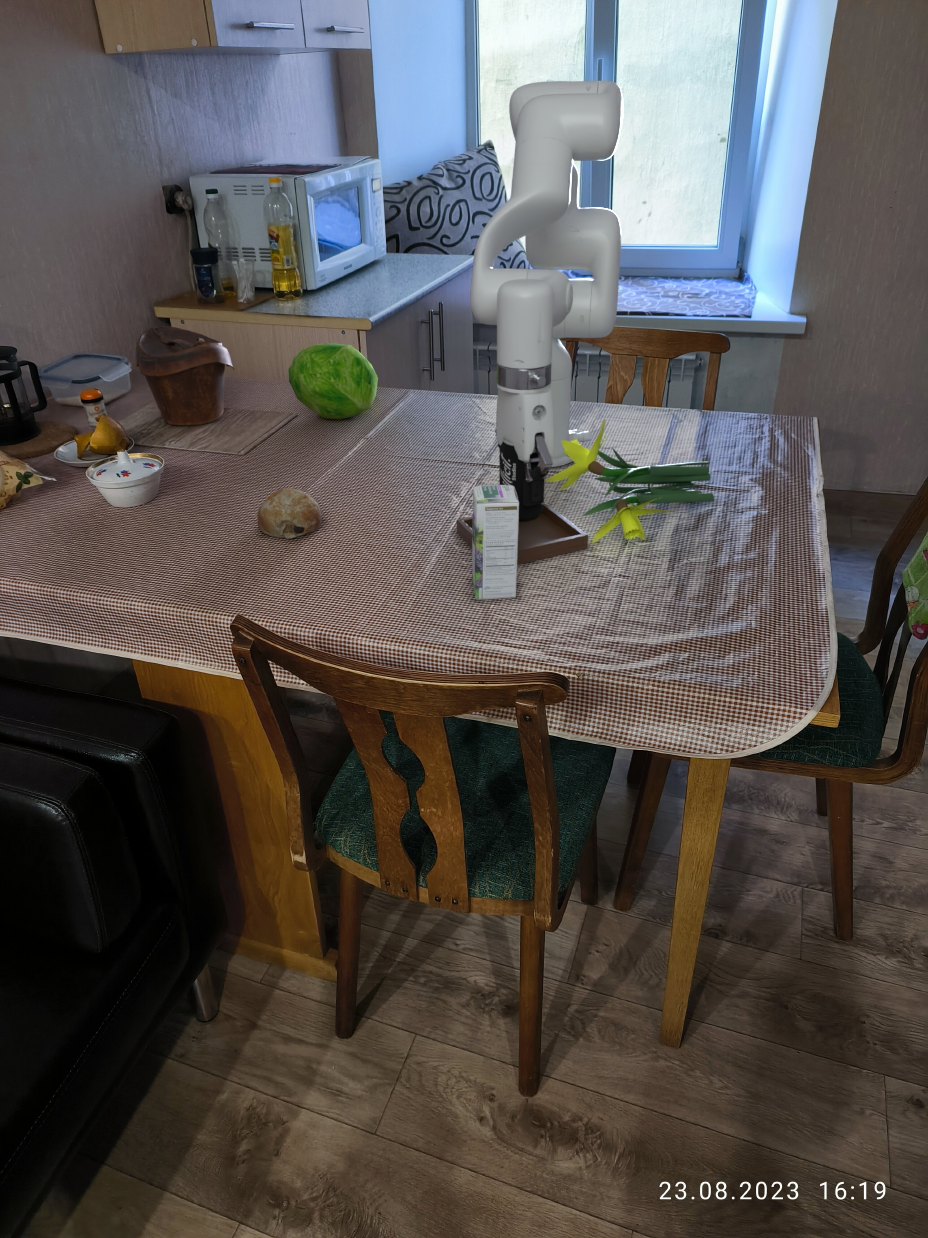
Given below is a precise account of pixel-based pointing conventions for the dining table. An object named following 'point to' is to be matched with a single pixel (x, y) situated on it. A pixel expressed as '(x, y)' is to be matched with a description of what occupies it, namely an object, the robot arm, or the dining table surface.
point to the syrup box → (495, 541)
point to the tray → (539, 536)
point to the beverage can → (517, 478)
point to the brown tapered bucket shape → (183, 374)
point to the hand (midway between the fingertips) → (521, 494)
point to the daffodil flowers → (633, 475)
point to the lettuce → (333, 380)
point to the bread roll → (289, 514)
